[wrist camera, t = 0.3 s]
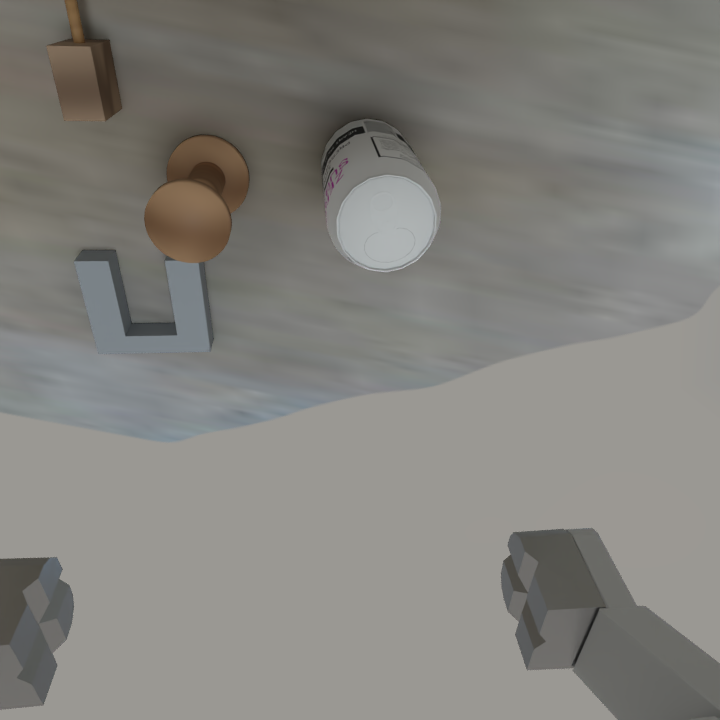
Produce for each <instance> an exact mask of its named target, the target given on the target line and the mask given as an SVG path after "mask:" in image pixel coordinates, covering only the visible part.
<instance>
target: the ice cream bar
mask: <svg viewBox="0 0 720 720" xmlns="http://www.w3.org/2000/svg"><path fill="white" fill-rule="evenodd" d="M65 4H66V9H67V14H68V18H69V23H70V28H71V32H72V37H73V39H68V40H64V41H61V42H57V43H54V44H50V45H47V51H48V55H49V59H50V63H51V67H52V72H53V76H54V80H55V84H56V88H57V93H58V97H59V101H60V105H61V109H62V113H63V118H64V121H106V120H108V119H109V118H110V117H112V116H113V115H114V114H116V113H117V112H118V111H120V110H121V109H122V105H121V100H120V94H119V89H118V84H117V78H116V73H115V67H114V62H113V57H112V51H111V46H110V40H92V39H85V38H84V34H83V29H82V24H81V19H80V14H79V9H78V4H77V0H65Z"/></svg>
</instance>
